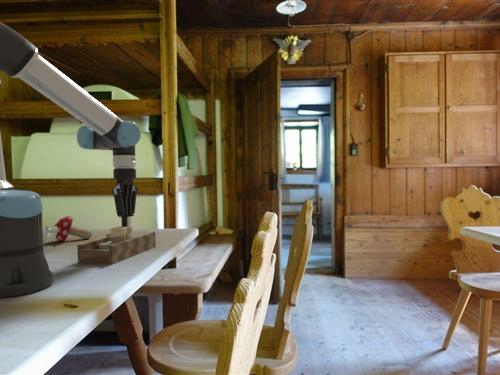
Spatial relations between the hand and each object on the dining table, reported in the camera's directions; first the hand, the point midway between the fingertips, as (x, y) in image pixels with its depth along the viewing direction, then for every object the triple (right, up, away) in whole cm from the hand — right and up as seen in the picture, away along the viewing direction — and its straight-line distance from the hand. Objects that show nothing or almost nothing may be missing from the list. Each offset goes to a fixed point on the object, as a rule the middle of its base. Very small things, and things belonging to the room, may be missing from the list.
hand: (126, 235), depth 130 cm
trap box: (-1, -6, -4) cm, 7 cm away
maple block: (-1, -2, -3) cm, 4 cm away
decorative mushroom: (-31, -6, +26) cm, 41 cm away
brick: (-12, -6, +25) cm, 28 cm away
